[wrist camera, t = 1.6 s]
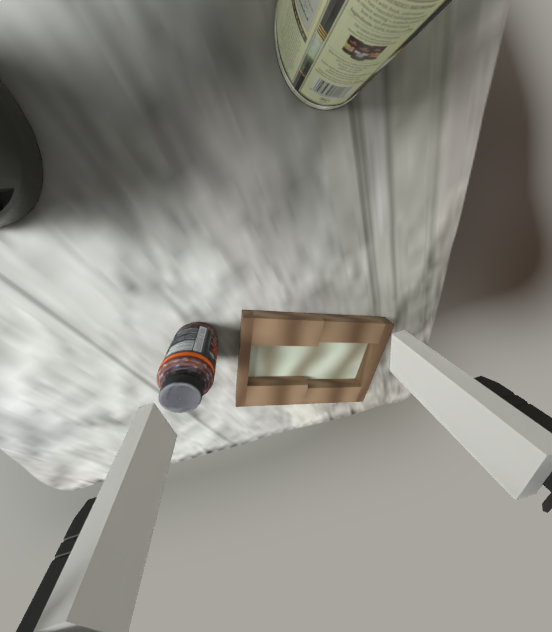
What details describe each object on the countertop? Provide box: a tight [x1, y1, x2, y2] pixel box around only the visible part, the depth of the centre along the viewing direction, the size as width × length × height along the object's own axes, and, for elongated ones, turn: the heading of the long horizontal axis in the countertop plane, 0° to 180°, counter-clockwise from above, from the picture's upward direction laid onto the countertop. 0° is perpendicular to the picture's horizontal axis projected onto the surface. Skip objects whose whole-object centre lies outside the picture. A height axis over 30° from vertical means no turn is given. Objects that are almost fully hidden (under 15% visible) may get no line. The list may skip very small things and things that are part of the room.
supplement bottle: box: [157, 323, 218, 413], centre depth 26 cm, size 6×6×11 cm
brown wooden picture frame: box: [236, 310, 394, 407], centre depth 35 cm, size 23×16×2 cm
